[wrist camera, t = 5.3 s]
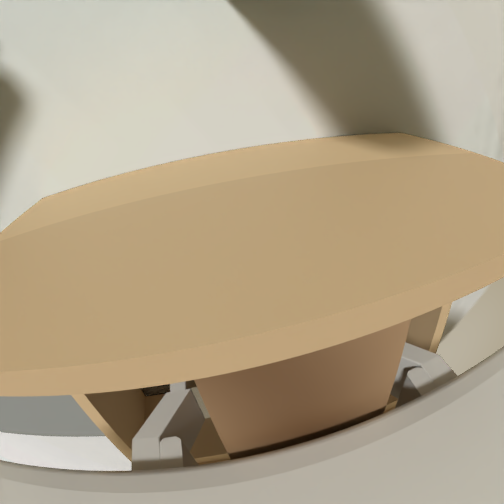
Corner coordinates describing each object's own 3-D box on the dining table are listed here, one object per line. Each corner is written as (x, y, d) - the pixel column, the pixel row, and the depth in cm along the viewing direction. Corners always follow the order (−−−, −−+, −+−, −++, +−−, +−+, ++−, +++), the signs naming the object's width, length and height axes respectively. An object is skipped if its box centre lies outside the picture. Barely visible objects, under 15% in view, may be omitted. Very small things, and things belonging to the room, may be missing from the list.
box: (286, 187, 12) (415, 305, 5) (298, 351, 16) (357, 478, 9) (183, 206, 12) (187, 368, 5) (225, 368, 16) (256, 508, 9)
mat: (27, 279, 11) (23, 285, 11) (122, 429, 17) (122, 435, 16) (-86, 309, 10) (-89, 314, 10) (2, 427, 16) (1, 431, 15)
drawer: (400, 132, 12) (598, 206, 4) (377, 369, 19) (445, 478, 11) (42, 198, 10) (-115, 368, 2) (154, 424, 17) (163, 559, 9)
